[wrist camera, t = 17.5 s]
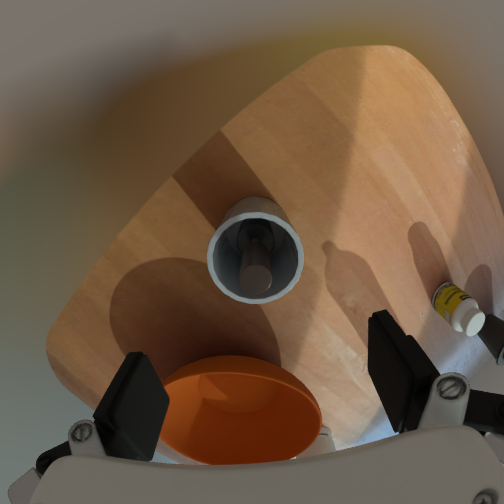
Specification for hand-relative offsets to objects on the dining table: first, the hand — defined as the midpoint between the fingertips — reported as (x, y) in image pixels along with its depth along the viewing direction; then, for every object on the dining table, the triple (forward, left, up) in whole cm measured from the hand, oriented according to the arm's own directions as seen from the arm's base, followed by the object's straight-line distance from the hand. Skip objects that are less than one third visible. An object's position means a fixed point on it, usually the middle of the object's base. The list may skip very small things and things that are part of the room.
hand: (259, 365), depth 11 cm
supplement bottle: (+32, +8, -26) cm, 42 cm away
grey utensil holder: (0, 0, -26) cm, 26 cm away
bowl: (+12, -24, -26) cm, 37 cm away
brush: (0, 0, -25) cm, 25 cm away
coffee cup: (+50, +10, -26) cm, 57 cm away
